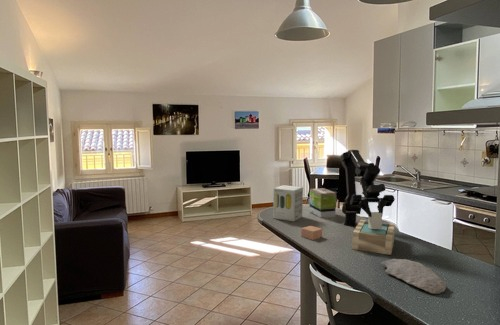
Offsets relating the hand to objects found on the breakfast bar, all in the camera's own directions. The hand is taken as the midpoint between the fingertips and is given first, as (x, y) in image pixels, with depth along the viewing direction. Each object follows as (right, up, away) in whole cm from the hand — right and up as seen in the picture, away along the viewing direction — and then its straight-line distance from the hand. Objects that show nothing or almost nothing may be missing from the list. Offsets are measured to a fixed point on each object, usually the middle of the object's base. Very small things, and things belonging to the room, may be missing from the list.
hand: (376, 216), depth 155 cm
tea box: (-12, -8, +57) cm, 58 cm away
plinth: (-26, -12, +13) cm, 32 cm away
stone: (+2, -17, -31) cm, 35 cm away
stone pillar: (0, -5, +1) cm, 5 cm away
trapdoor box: (+1, -13, +5) cm, 14 cm away
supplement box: (-34, -8, +49) cm, 60 cm away
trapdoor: (+1, -7, +4) cm, 8 cm away
